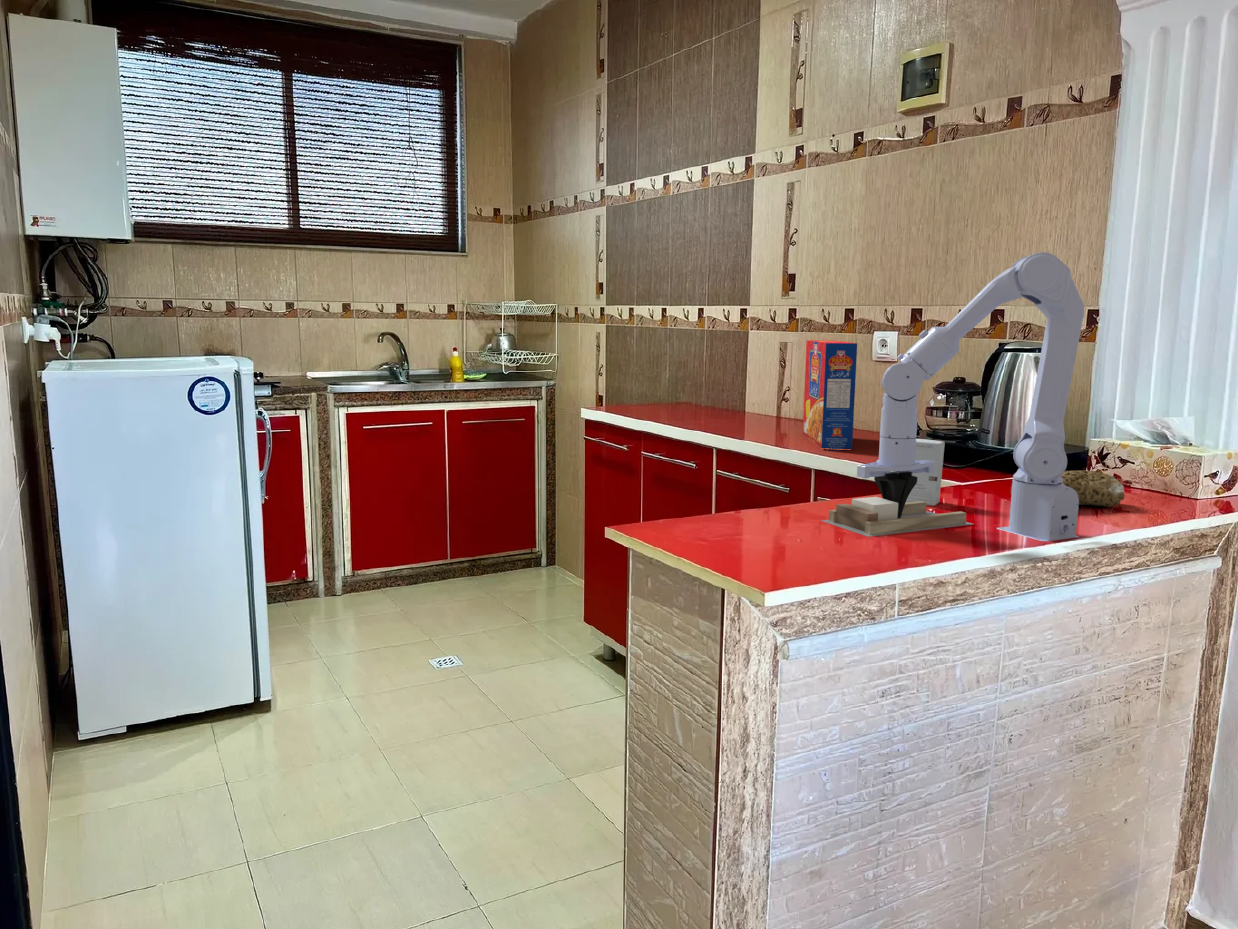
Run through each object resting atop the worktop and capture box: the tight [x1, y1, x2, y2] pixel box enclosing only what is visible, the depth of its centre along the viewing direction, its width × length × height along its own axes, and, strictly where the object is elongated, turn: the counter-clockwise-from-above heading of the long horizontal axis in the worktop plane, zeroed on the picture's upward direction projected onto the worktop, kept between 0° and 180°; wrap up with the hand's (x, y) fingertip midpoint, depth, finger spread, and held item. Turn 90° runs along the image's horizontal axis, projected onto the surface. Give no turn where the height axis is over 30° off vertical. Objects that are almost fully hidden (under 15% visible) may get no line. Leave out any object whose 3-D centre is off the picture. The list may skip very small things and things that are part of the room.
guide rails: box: [828, 501, 967, 535], centre depth 148 cm, size 10×20×3 cm, turn 114°
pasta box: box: [802, 339, 858, 450], centre depth 244 cm, size 28×8×28 cm, turn 178°
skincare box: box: [906, 438, 946, 506], centre depth 164 cm, size 6×4×12 cm
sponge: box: [1010, 470, 1125, 508], centre depth 165 cm, size 13×8×20 cm
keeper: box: [851, 496, 898, 520], centre depth 146 cm, size 5×5×4 cm
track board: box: [820, 510, 973, 538], centre depth 148 cm, size 12×22×1 cm, turn 114°
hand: (893, 517), depth 148 cm, fingers closed
